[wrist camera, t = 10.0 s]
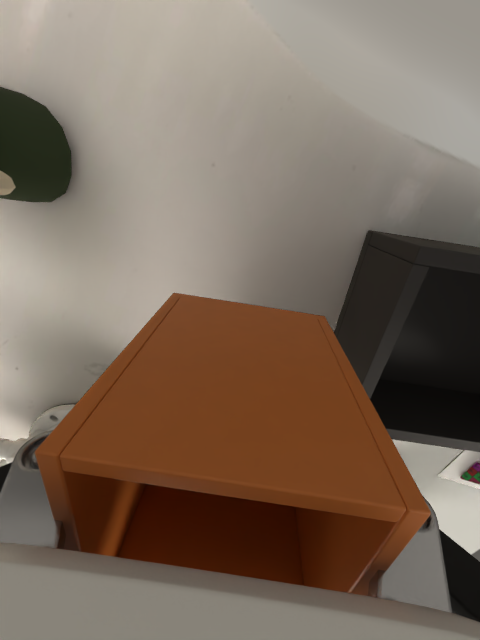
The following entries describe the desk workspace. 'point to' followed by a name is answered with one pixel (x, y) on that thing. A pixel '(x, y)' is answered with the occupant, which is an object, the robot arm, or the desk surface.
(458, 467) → the multicoloured small block
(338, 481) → the container
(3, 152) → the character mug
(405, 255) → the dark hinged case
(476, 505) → the desk surface
